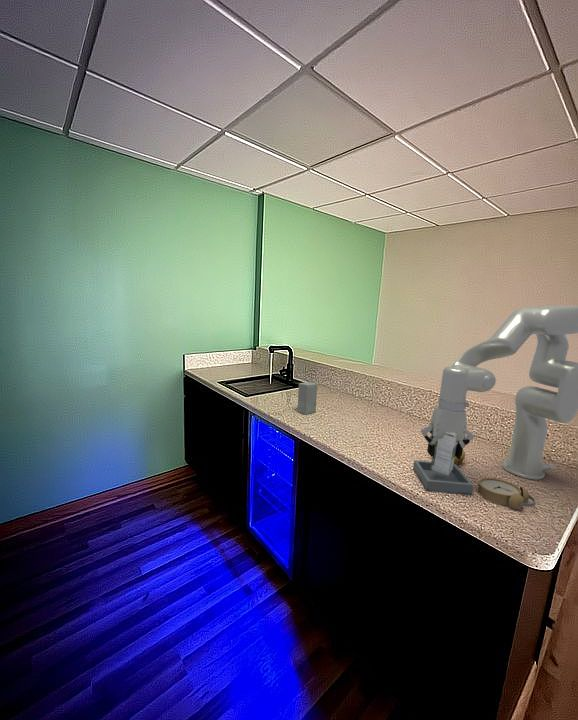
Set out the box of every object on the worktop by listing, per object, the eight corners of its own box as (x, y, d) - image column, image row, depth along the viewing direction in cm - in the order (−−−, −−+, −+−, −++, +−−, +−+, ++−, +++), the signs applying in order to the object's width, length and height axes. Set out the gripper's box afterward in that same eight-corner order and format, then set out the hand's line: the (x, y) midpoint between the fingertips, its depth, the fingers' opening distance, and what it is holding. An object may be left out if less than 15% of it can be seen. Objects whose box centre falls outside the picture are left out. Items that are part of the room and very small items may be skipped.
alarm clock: (485, 474, 109) (540, 487, 97) (486, 488, 109) (540, 503, 97) (471, 484, 102) (528, 500, 90) (472, 500, 102) (529, 517, 90)
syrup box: (435, 464, 111) (440, 424, 109) (453, 470, 107) (459, 428, 105) (430, 469, 107) (435, 428, 104) (449, 476, 103) (455, 433, 101)
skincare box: (305, 415, 167) (307, 385, 164) (296, 411, 172) (297, 382, 169) (316, 412, 172) (318, 383, 170) (307, 408, 178) (309, 380, 175)
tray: (453, 472, 114) (454, 463, 114) (472, 495, 100) (473, 485, 100) (413, 469, 115) (414, 460, 115) (426, 491, 101) (427, 481, 101)
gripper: (473, 403, 106) (465, 453, 109) (419, 399, 108) (413, 448, 111) (485, 411, 99) (476, 464, 102) (427, 406, 100) (420, 459, 103)
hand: (443, 455), depth 106 cm, fingers closed on syrup box, 7 cm apart
